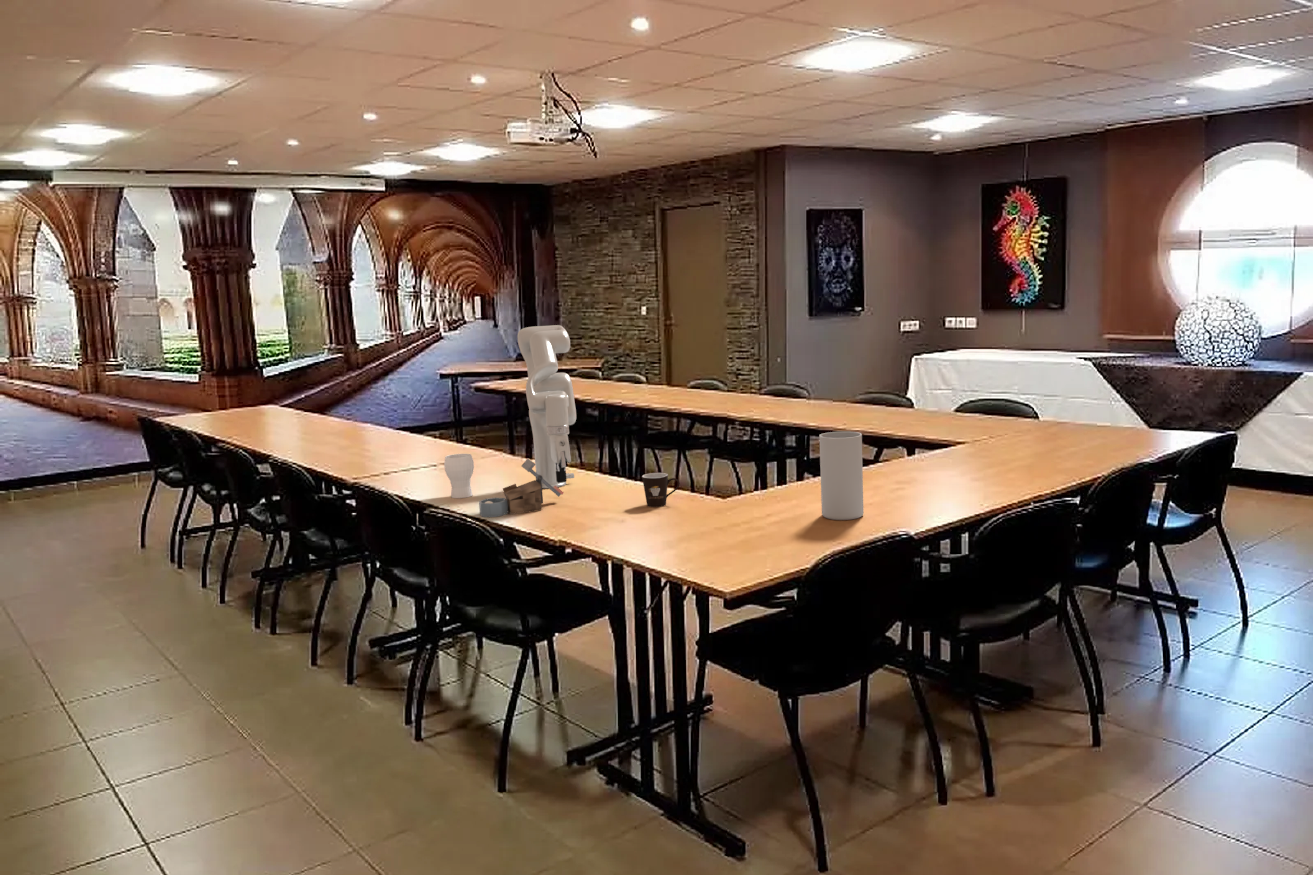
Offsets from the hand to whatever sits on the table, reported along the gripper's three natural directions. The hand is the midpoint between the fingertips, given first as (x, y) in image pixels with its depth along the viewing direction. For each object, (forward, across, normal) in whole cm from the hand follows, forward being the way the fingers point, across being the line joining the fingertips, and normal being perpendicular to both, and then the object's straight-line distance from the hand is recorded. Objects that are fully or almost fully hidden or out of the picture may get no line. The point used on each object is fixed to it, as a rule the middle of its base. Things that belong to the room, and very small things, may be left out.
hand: (561, 481), depth 342 cm
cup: (+8, +30, +31) cm, 43 cm away
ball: (+4, -6, +27) cm, 28 cm away
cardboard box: (+7, -4, +14) cm, 16 cm away
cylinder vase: (+5, -70, -70) cm, 99 cm away
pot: (+7, -6, +25) cm, 27 cm away
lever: (-1, -5, +8) cm, 9 cm away
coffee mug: (+6, -25, -27) cm, 38 cm away
